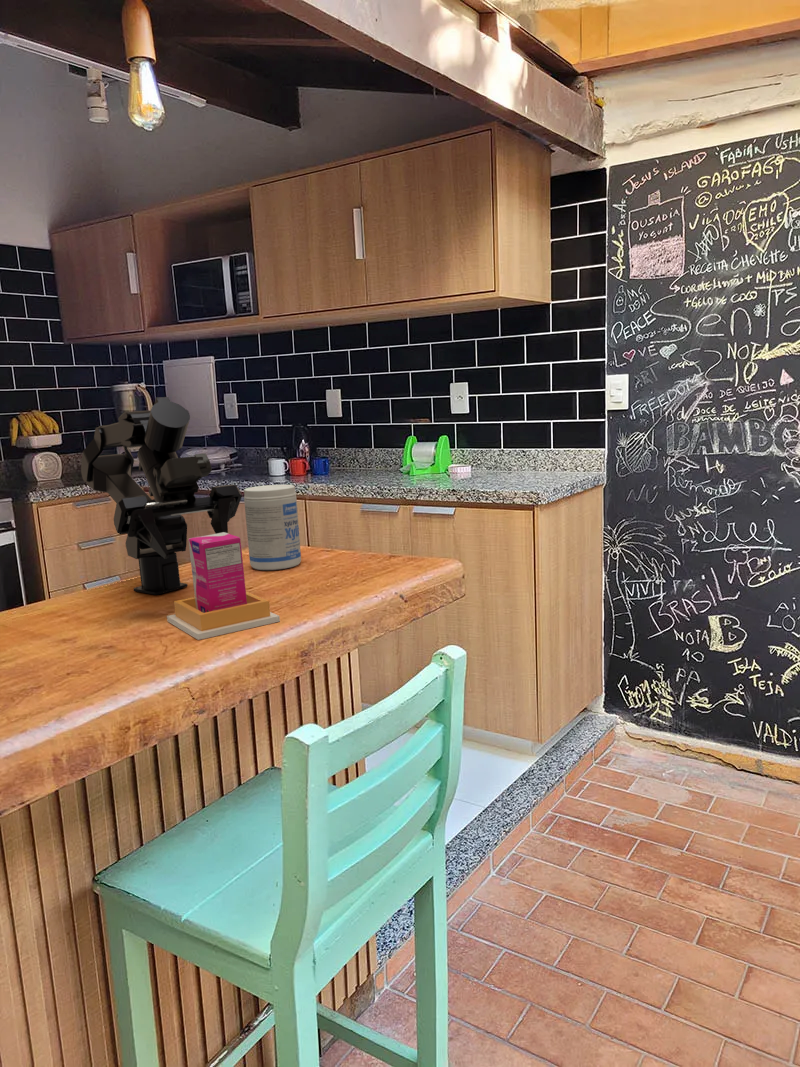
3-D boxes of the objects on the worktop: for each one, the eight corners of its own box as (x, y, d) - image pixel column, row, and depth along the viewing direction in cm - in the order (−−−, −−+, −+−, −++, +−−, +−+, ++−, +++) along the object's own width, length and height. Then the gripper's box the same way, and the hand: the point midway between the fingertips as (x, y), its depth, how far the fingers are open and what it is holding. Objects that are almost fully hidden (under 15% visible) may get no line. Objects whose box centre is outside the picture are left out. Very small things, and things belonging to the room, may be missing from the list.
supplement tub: (300, 569, 147) (294, 488, 144) (247, 573, 146) (240, 492, 143) (302, 558, 156) (296, 482, 153) (252, 562, 155) (246, 485, 153)
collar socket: (167, 621, 117) (165, 601, 117) (244, 605, 124) (242, 586, 123) (198, 640, 107) (195, 618, 107) (279, 621, 114) (278, 600, 114)
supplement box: (195, 615, 116) (187, 537, 114) (233, 607, 119) (226, 531, 117) (210, 624, 111) (202, 542, 109) (250, 615, 115) (243, 536, 113)
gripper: (109, 442, 116) (142, 527, 109) (231, 432, 127) (268, 509, 120) (101, 492, 124) (131, 574, 117) (216, 479, 134) (250, 554, 128)
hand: (197, 551), depth 120 cm, fingers open, 9 cm apart
